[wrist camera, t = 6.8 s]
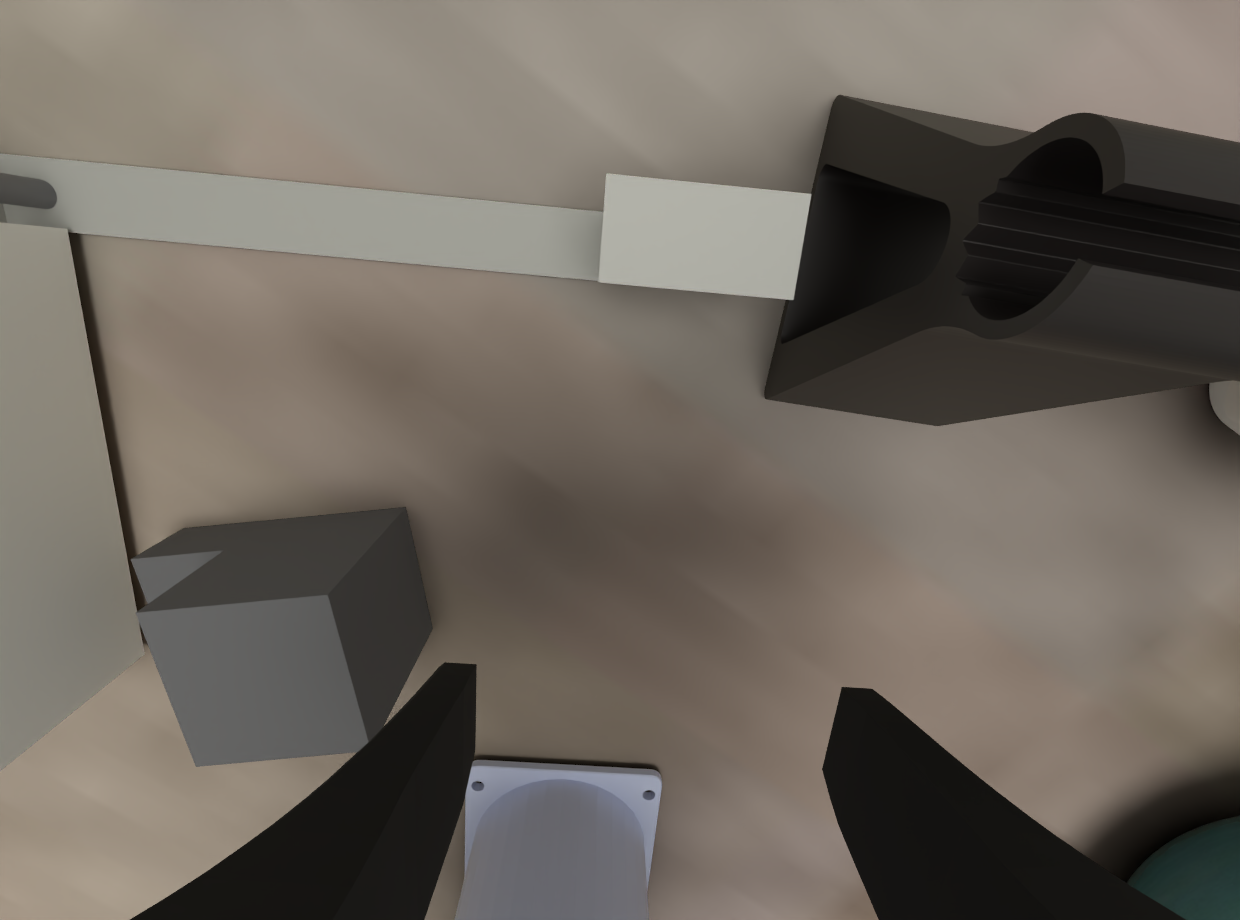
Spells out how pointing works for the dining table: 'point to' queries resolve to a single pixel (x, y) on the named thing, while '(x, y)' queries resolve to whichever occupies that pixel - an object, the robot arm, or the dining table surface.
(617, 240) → the grey u-shaped bar
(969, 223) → the phone stand
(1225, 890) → the vase
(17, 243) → the door
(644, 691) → the dining table surface
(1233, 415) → the mug
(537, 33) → the dining table surface
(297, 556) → the dark grey block
